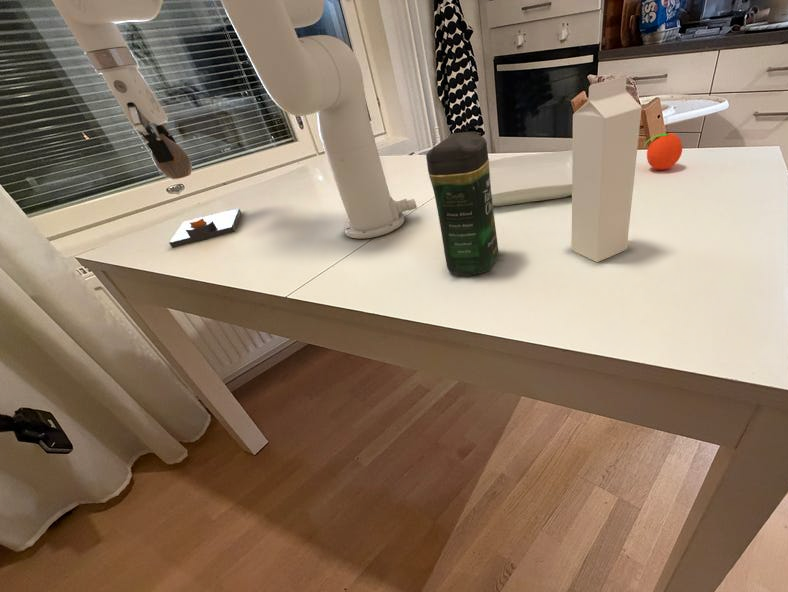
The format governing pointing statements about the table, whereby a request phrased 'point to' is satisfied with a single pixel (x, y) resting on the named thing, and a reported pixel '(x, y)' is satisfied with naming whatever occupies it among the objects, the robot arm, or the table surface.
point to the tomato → (664, 151)
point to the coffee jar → (464, 202)
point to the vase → (174, 161)
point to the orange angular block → (197, 222)
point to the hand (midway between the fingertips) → (170, 157)
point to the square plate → (531, 178)
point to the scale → (207, 228)
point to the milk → (604, 169)
